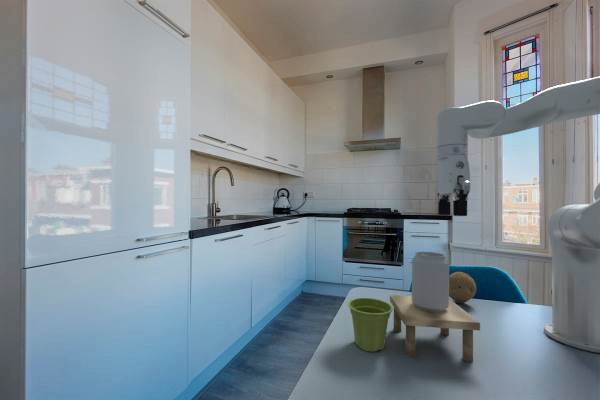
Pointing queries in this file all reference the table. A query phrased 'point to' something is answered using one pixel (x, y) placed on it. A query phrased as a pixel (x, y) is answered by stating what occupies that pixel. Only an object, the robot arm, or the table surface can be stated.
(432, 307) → the can
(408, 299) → the stool
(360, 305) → the plant pot
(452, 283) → the natural sponge
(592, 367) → the table surface
